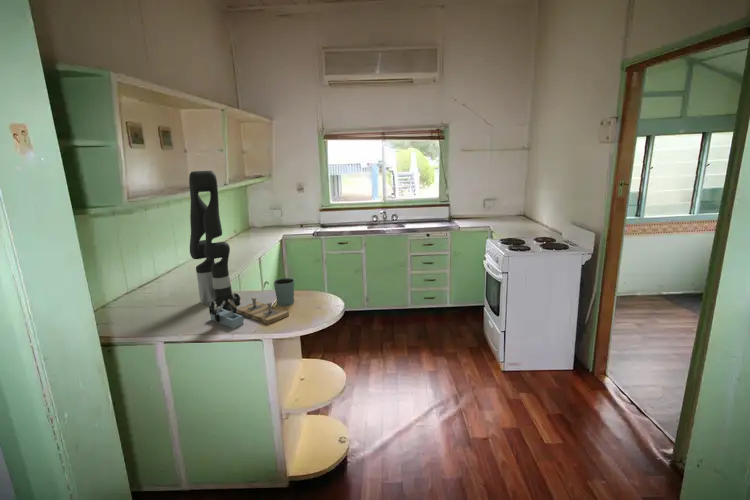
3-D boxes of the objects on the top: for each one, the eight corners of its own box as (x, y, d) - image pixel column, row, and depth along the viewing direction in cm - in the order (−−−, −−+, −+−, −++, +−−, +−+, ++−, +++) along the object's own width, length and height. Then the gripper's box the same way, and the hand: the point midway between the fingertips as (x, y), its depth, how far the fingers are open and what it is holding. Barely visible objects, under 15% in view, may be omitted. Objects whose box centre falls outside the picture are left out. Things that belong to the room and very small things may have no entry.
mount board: (237, 313, 199) (235, 299, 197) (258, 305, 208) (256, 292, 206) (268, 324, 185) (266, 310, 183) (289, 315, 194) (287, 301, 192)
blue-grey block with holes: (211, 319, 192) (209, 311, 192) (221, 315, 197) (220, 307, 196) (233, 328, 182) (231, 320, 181) (243, 324, 186) (242, 316, 185)
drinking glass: (272, 303, 210) (269, 281, 207) (288, 298, 217) (286, 276, 214) (283, 308, 203) (280, 285, 200) (300, 302, 210) (298, 280, 207)
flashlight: (230, 314, 198) (229, 304, 197) (219, 314, 198) (218, 304, 197) (241, 302, 213) (239, 292, 212) (230, 302, 213) (229, 293, 212)
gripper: (231, 279, 192) (235, 311, 196) (202, 288, 182) (208, 322, 186) (240, 282, 188) (244, 315, 192) (212, 291, 177) (217, 325, 181)
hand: (226, 318), depth 189 cm, fingers open, 8 cm apart
